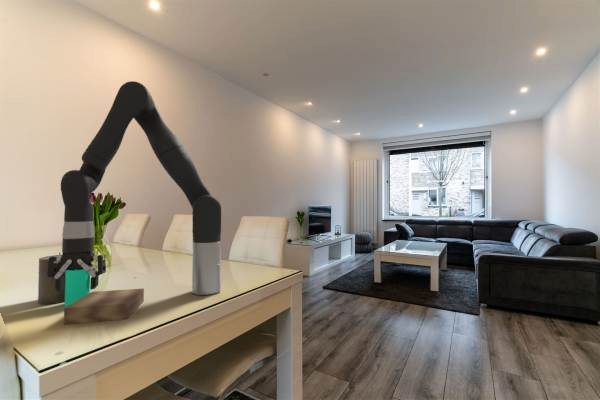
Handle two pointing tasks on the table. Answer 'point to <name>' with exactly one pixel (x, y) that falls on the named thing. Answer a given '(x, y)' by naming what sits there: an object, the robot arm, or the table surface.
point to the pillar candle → (49, 284)
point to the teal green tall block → (76, 285)
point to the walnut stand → (104, 306)
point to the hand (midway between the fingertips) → (77, 289)
